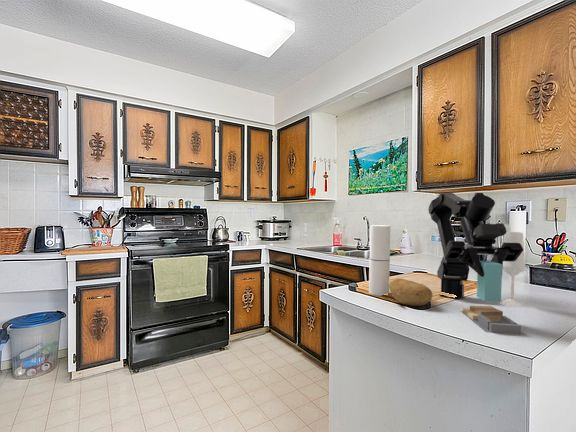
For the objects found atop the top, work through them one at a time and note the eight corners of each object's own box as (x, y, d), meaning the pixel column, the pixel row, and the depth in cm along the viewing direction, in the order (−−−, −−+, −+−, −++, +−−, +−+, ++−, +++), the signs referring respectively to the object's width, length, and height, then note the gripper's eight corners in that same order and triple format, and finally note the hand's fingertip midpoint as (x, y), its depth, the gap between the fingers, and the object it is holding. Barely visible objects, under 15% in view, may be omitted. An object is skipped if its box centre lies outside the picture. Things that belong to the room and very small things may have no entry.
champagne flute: (529, 306, 98) (531, 232, 98) (514, 308, 96) (516, 233, 95) (508, 300, 104) (510, 231, 104) (494, 302, 102) (496, 231, 102)
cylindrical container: (365, 292, 112) (366, 225, 111) (375, 289, 117) (376, 224, 116) (382, 297, 107) (384, 226, 106) (392, 293, 112) (394, 225, 111)
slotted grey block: (460, 314, 90) (460, 304, 90) (493, 316, 88) (494, 306, 88) (485, 335, 74) (486, 323, 74) (526, 339, 73) (527, 326, 73)
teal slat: (476, 296, 85) (477, 260, 85) (492, 297, 84) (493, 261, 84) (484, 301, 80) (485, 263, 80) (500, 302, 80) (502, 264, 80)
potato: (420, 314, 89) (421, 287, 89) (382, 302, 101) (382, 278, 101) (439, 309, 94) (440, 283, 94) (401, 297, 106) (401, 275, 106)
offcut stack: (462, 311, 90) (462, 303, 89) (492, 313, 88) (492, 305, 88) (472, 319, 83) (473, 311, 83) (505, 321, 81) (505, 313, 81)
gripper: (448, 212, 87) (463, 257, 77) (520, 213, 84) (546, 260, 74) (439, 237, 95) (451, 280, 85) (504, 239, 92) (525, 284, 82)
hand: (491, 276), depth 81 cm, fingers closed on teal slat, 4 cm apart
